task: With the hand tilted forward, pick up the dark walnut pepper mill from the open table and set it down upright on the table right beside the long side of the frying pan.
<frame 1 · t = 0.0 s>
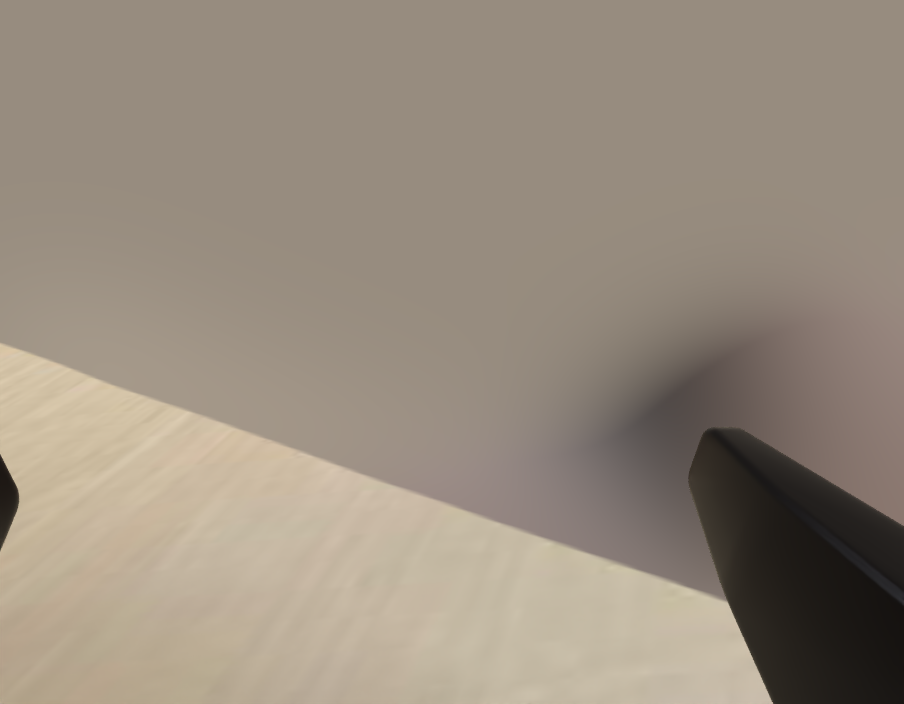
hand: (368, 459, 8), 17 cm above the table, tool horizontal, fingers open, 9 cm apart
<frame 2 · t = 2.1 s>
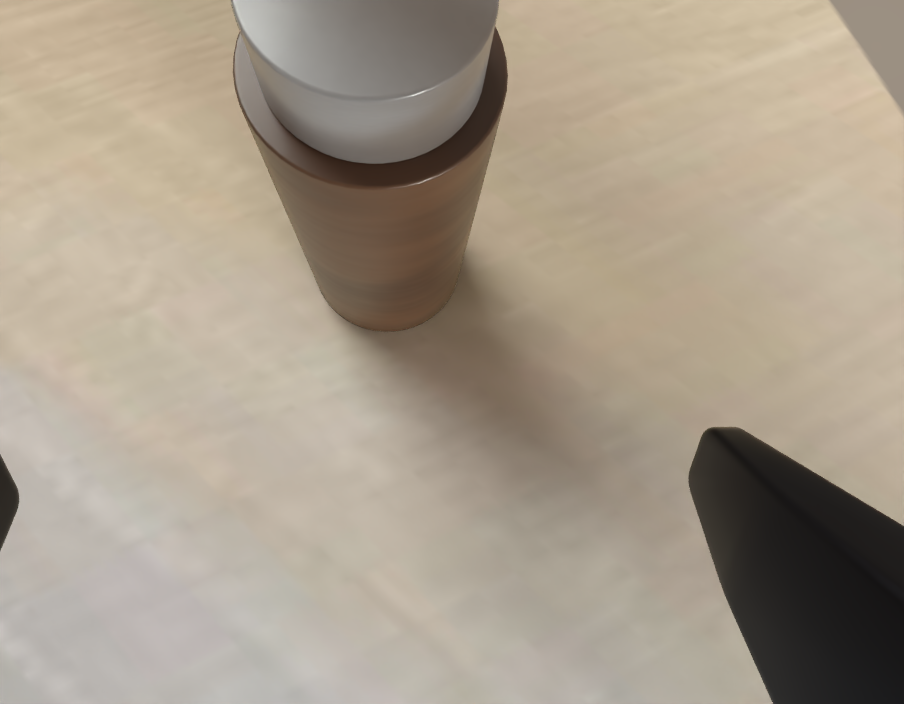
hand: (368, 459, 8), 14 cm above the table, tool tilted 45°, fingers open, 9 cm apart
pepper mill: (387, 262, 23), on the table
when the fingers open (7 cm above the table, at t = 11.7 s): pepper mill stays where it is, on the table.
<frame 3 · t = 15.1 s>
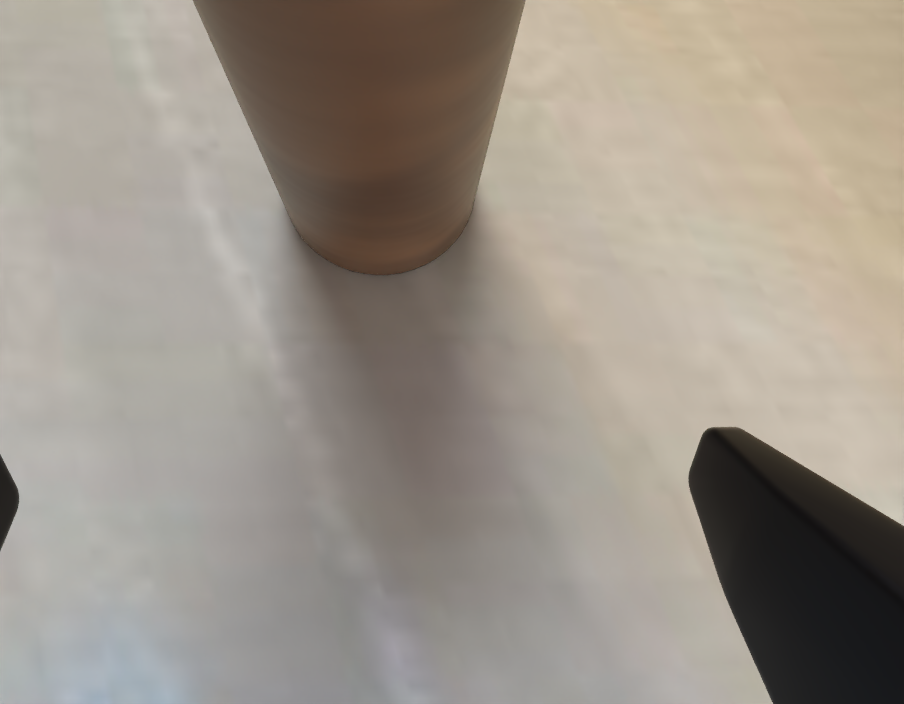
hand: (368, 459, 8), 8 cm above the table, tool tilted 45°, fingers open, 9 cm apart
pepper mill: (380, 185, 17), on the table
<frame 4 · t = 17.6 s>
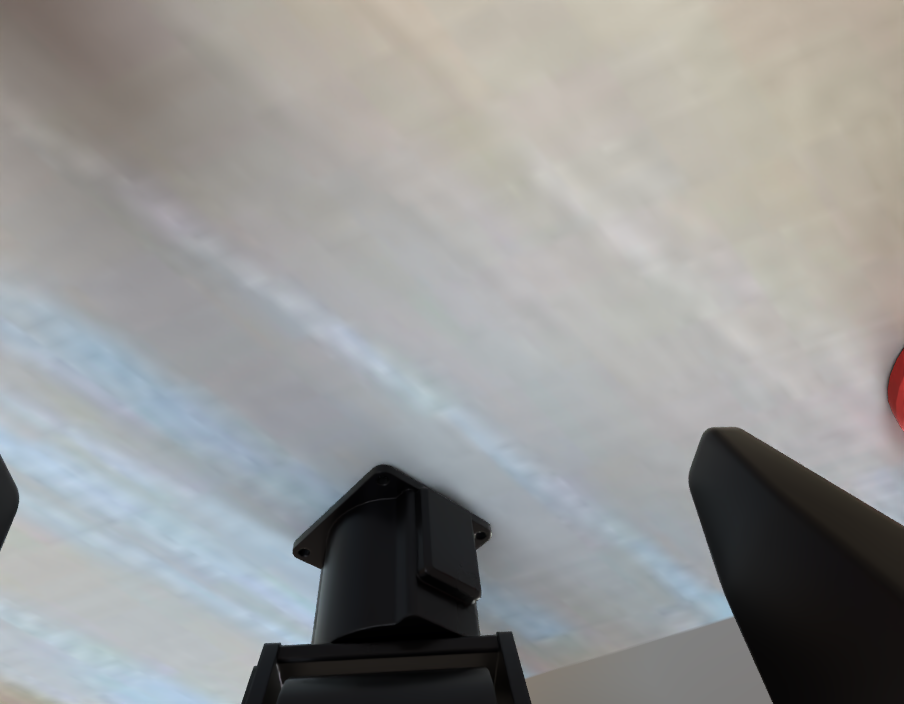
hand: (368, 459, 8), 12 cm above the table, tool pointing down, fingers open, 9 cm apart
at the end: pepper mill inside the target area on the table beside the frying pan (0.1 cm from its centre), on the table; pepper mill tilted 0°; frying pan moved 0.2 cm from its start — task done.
